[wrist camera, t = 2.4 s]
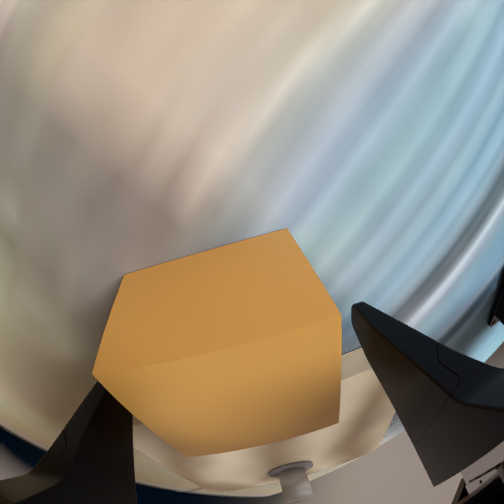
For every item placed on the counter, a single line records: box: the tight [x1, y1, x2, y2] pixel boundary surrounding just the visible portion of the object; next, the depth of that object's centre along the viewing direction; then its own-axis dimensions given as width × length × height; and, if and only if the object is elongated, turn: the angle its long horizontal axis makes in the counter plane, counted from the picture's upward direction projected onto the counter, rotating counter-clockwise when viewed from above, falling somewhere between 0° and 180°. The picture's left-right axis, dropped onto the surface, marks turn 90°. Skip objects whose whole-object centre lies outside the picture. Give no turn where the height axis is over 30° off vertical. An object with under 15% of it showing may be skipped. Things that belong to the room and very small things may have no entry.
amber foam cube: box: [92, 228, 342, 457], centre depth 9 cm, size 6×6×4 cm
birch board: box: [133, 347, 396, 504], centre depth 16 cm, size 18×19×5 cm
